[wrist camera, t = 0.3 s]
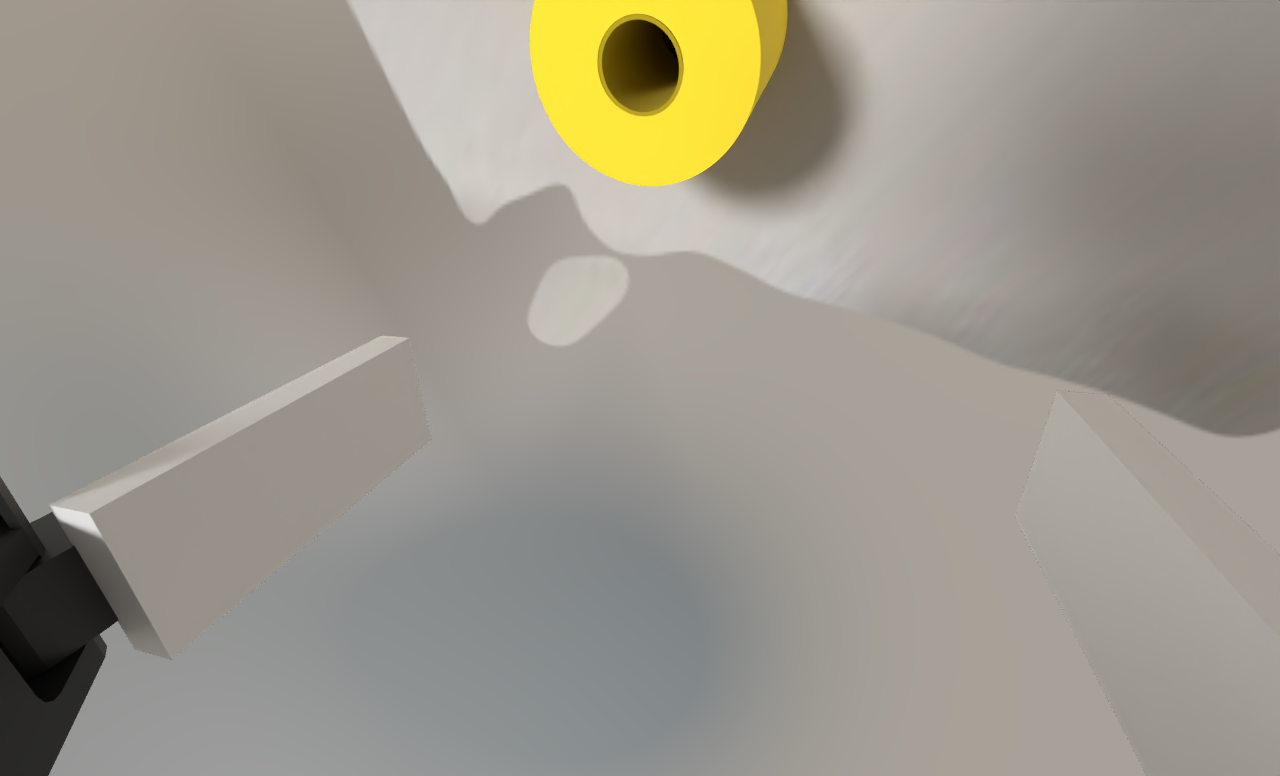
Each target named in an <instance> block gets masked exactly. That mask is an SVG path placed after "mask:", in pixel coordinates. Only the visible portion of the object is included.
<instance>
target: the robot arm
mask: <svg viewBox="0 0 1280 776" xmlns="http://www.w3.org/2000/svg"><path fill="white" fill-rule="evenodd" d="M430 440H431V435H430V431H429V426H428V421H427V417H426V412H425V408H424V403H423V399H422V395H421V390H420V385H419V380H418V376H417V372H416V367H415V362H414V358H413V353H412V348H411V344H410V340H409V338H403V337H391V336H380V337H378V338H376V339H374V340H372V341H370V342H368V343H366V344H364V345H362V346H360V347H358V348H357V349H354V350H352V351H351V352H349V353H347V354H345V355H343V356H341V357H339V358H337V359H335V360H333V361H331V362H329V363H327V364H325V365H323V366H321V367H319V368H317V369H315V370H313V371H311V372H309V373H307V374H305V375H303V376H301V377H299V378H298V379H295V380H293V381H291V382H289V383H287V384H285V385H284V386H282V387H280V388H278V389H276V390H274V391H272V392H270V393H268V394H266V395H264V396H262V397H260V398H258V399H256V400H254V401H252V402H250V403H248V404H246V405H244V406H242V407H241V408H238V409H236V410H234V411H233V412H230V413H228V414H226V415H225V416H223V417H221V418H219V419H217V420H215V421H213V422H211V423H209V424H207V425H205V426H203V427H201V428H199V429H197V430H195V431H193V432H191V433H189V434H187V435H185V436H183V437H181V438H179V439H177V440H175V441H173V442H171V443H169V444H167V445H166V446H164V447H162V448H160V449H158V450H156V451H154V452H152V453H150V454H148V455H146V456H144V457H142V458H140V459H138V460H136V461H134V462H132V463H130V464H128V465H126V466H124V467H122V468H120V469H118V470H116V471H114V472H112V473H110V474H109V475H107V476H104V477H103V478H101V479H99V480H97V481H95V482H93V483H91V484H89V485H87V486H85V487H83V488H81V489H79V490H77V491H75V492H73V493H71V494H69V495H67V496H65V497H63V498H61V499H59V500H58V501H55V502H54V503H52V504H49V507H50V508H51V510H52V512H51V513H49V514H47V515H46V516H44V517H42V518H40V519H37V520H35V521H33V522H31V523H29V521H28V520H27V518H26V517H25V515H24V514H23V512H22V510H21V509H20V507H19V506H18V504H17V502H16V501H15V499H14V498H13V496H12V495H11V493H10V491H9V490H8V488H7V486H6V485H5V483H4V482H3V480H2V479H1V477H0V776H48V775H49V773H50V771H51V769H52V767H53V765H54V763H55V761H56V758H57V756H58V754H59V752H60V750H61V748H62V746H63V744H64V742H65V740H66V738H67V736H68V733H69V731H70V729H71V727H72V725H73V723H74V721H75V719H76V717H77V714H78V713H79V711H80V708H81V706H82V704H83V702H84V700H85V698H86V696H87V694H88V692H89V690H90V687H91V685H92V683H93V681H94V679H95V677H96V675H97V673H98V671H99V669H100V666H101V665H102V663H103V660H104V658H105V655H106V649H107V646H106V644H105V642H104V641H103V639H102V638H101V636H100V633H102V632H103V631H104V630H106V629H107V628H109V627H110V626H111V625H112V624H114V623H115V622H117V621H118V622H119V624H120V625H121V627H122V629H123V630H124V632H125V634H126V635H127V637H128V639H129V640H130V642H131V644H132V645H133V647H134V649H136V650H139V651H143V652H146V653H149V654H153V655H157V656H160V657H164V658H167V659H171V660H172V659H174V658H175V657H176V656H177V655H178V654H180V653H181V652H182V651H183V650H184V649H185V648H187V647H188V646H189V645H190V644H191V643H192V642H194V641H195V640H196V639H197V638H198V637H199V636H201V635H202V634H203V633H204V632H205V631H207V630H208V629H209V628H210V627H211V626H213V625H214V624H215V623H216V622H217V621H218V620H219V619H221V618H222V617H223V616H224V615H225V614H227V613H228V612H229V611H230V610H231V609H232V608H234V607H235V606H236V605H237V604H238V603H240V602H241V601H242V600H243V599H244V598H245V597H247V596H248V595H249V594H250V593H251V592H253V591H254V590H255V589H256V588H257V587H258V586H260V585H261V584H262V583H263V582H264V581H266V580H267V579H268V578H269V577H270V576H271V575H273V574H274V573H275V572H276V571H277V570H278V569H280V568H281V567H282V566H283V565H284V564H285V563H287V562H288V561H289V560H290V559H291V558H293V557H294V556H295V555H296V554H297V553H298V552H299V551H301V550H302V549H303V548H304V547H306V546H307V545H308V544H309V543H310V542H311V541H313V540H314V539H315V538H316V537H317V536H319V534H321V533H322V532H323V531H324V530H325V529H327V528H328V527H329V526H330V525H332V524H333V523H334V522H335V521H336V520H337V519H339V518H340V517H341V516H342V515H343V514H344V513H345V512H347V511H348V510H349V509H350V508H351V507H353V506H354V505H355V504H356V503H357V502H358V501H360V500H361V499H362V498H363V497H364V496H366V495H367V494H368V493H369V492H370V491H372V490H373V489H374V488H375V487H376V486H377V485H379V484H380V483H381V482H382V481H383V480H384V479H386V478H387V477H388V476H389V475H390V474H391V473H393V472H394V471H395V470H396V469H397V468H399V467H400V466H401V465H402V464H403V463H405V462H406V461H407V460H408V459H409V458H410V457H412V455H414V454H415V453H416V452H417V451H419V450H420V449H421V448H422V447H423V446H425V445H426V444H427V443H428V442H429V441H430ZM1015 518H1016V520H1017V522H1018V524H1019V526H1020V528H1021V530H1022V532H1023V534H1024V536H1025V538H1026V540H1027V542H1028V544H1029V546H1030V548H1031V550H1032V552H1033V554H1034V556H1035V558H1036V560H1037V562H1038V564H1039V566H1040V568H1041V570H1042V572H1043V574H1044V576H1045V577H1046V579H1047V581H1048V583H1049V585H1050V587H1051V589H1052V591H1053V593H1054V595H1055V597H1056V599H1057V601H1058V603H1059V605H1060V607H1061V609H1062V611H1063V613H1064V615H1065V617H1066V619H1067V621H1068V623H1069V625H1070V627H1071V628H1072V630H1073V633H1074V635H1075V637H1076V639H1077V641H1078V642H1079V644H1080V646H1081V648H1082V650H1083V652H1084V654H1085V656H1086V658H1087V660H1088V662H1089V664H1090V666H1091V668H1092V670H1093V672H1094V674H1095V676H1096V678H1097V680H1098V682H1099V684H1100V686H1101V687H1102V689H1103V692H1104V693H1105V696H1106V697H1107V699H1108V701H1109V703H1110V705H1111V707H1112V709H1113V711H1114V713H1115V715H1116V717H1117V719H1118V721H1119V723H1120V725H1121V727H1122V729H1123V731H1124V733H1125V735H1126V736H1127V739H1128V741H1129V743H1130V745H1131V747H1132V749H1133V751H1134V753H1135V755H1136V756H1137V759H1138V761H1139V762H1140V764H1141V766H1142V768H1143V770H1144V772H1145V774H1146V776H1280V554H1279V553H1278V552H1277V551H1276V550H1274V549H1273V548H1272V547H1271V546H1270V545H1269V544H1268V543H1267V542H1266V541H1265V540H1264V539H1263V538H1262V537H1260V536H1259V535H1258V534H1257V533H1256V532H1255V531H1254V530H1253V529H1252V528H1251V527H1250V526H1249V525H1248V524H1247V523H1246V522H1244V521H1243V520H1242V519H1241V518H1240V517H1239V516H1238V515H1237V514H1236V513H1235V512H1234V511H1232V509H1231V508H1230V507H1228V506H1227V505H1226V504H1225V503H1224V502H1223V501H1222V500H1221V499H1220V498H1219V497H1218V496H1217V495H1215V493H1213V492H1212V491H1211V490H1210V489H1209V488H1208V487H1207V486H1206V485H1205V484H1204V483H1203V482H1202V481H1201V480H1200V479H1198V478H1197V477H1196V476H1195V475H1194V474H1193V473H1192V472H1191V471H1190V470H1189V469H1188V468H1187V467H1186V466H1184V465H1183V464H1182V463H1181V462H1180V461H1179V460H1178V459H1177V458H1176V457H1175V456H1174V455H1173V454H1172V453H1170V452H1169V451H1168V450H1167V449H1166V448H1165V447H1164V446H1163V445H1162V444H1161V443H1160V442H1159V441H1158V440H1157V439H1156V438H1155V437H1153V436H1152V435H1151V434H1150V433H1149V432H1148V431H1147V430H1146V429H1145V428H1144V427H1143V426H1142V425H1141V424H1139V423H1138V422H1137V421H1136V420H1135V419H1134V418H1133V417H1132V416H1131V415H1130V414H1129V413H1128V412H1127V411H1126V410H1125V409H1123V408H1122V407H1121V406H1120V405H1119V404H1118V403H1117V402H1116V401H1115V400H1114V399H1113V398H1112V397H1111V396H1110V395H1107V394H1094V393H1082V392H1069V391H1057V392H1056V395H1055V398H1054V401H1053V404H1052V407H1051V410H1050V413H1049V416H1048V419H1047V422H1046V425H1045V428H1044V431H1043V434H1042V437H1041V440H1040V443H1039V446H1038V449H1037V453H1036V456H1035V458H1034V461H1033V465H1032V467H1031V470H1030V474H1029V477H1028V480H1027V483H1026V486H1025V489H1024V492H1023V495H1022V498H1021V501H1020V504H1019V507H1018V510H1017V513H1016V516H1015Z"/></svg>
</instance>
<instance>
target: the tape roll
mask: <svg viewBox="0 0 1280 776" xmlns="http://www.w3.org/2000/svg"><path fill="white" fill-rule="evenodd" d="M787 20H788V5H787V0H535V2H534V6H533V11H532V18H531V26H530V54H531V63H532V70H533V75H534V79H535V83H536V87H537V90H538V93H539V96H540V99H541V101H542V104H543V106H544V108H545V111H546V113H547V115H548V117H549V119H550V120H551V122H552V124H553V125H554V127H555V129H556V130H557V132H558V133H559V135H560V136H561V137H562V139H563V140H564V141H565V142H566V144H567V145H568V146H569V147H570V148H571V149H572V150H573V151H574V152H575V153H576V154H577V155H578V156H579V157H580V158H581V159H582V160H584V161H585V162H586V163H587V164H589V165H590V166H592V167H593V168H594V169H596V170H598V171H599V172H601V173H603V174H605V175H607V176H609V177H611V178H613V179H616V180H619V181H622V182H625V183H629V184H633V185H640V186H664V185H670V184H675V183H678V182H682V181H685V180H687V179H690V178H692V177H694V176H696V175H698V174H700V173H701V172H703V171H705V170H706V169H708V168H709V167H710V166H712V165H713V164H714V163H715V162H717V161H718V160H719V159H720V158H721V157H722V156H723V155H724V154H725V153H726V152H727V151H728V149H729V148H730V147H731V146H732V144H733V143H734V142H735V140H736V139H737V137H738V136H739V134H740V133H741V131H742V129H743V127H744V125H745V124H746V122H747V120H748V118H749V116H750V115H751V113H752V111H753V109H754V107H755V105H756V104H757V102H758V100H759V98H760V96H761V94H762V93H763V91H764V89H765V87H766V85H767V84H768V82H769V80H770V78H771V76H772V74H773V72H774V71H775V68H776V66H777V64H778V62H779V59H780V56H781V53H782V50H783V46H784V42H785V37H786V31H787ZM662 30H663V31H664V32H665V33H666V34H667V35H668V37H669V38H670V40H671V41H672V43H673V45H674V47H675V50H676V53H677V56H678V59H677V58H676V57H674V56H673V55H672V53H671V52H670V51H669V49H668V48H667V46H666V44H665V41H664V38H663V32H662Z"/></svg>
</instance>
